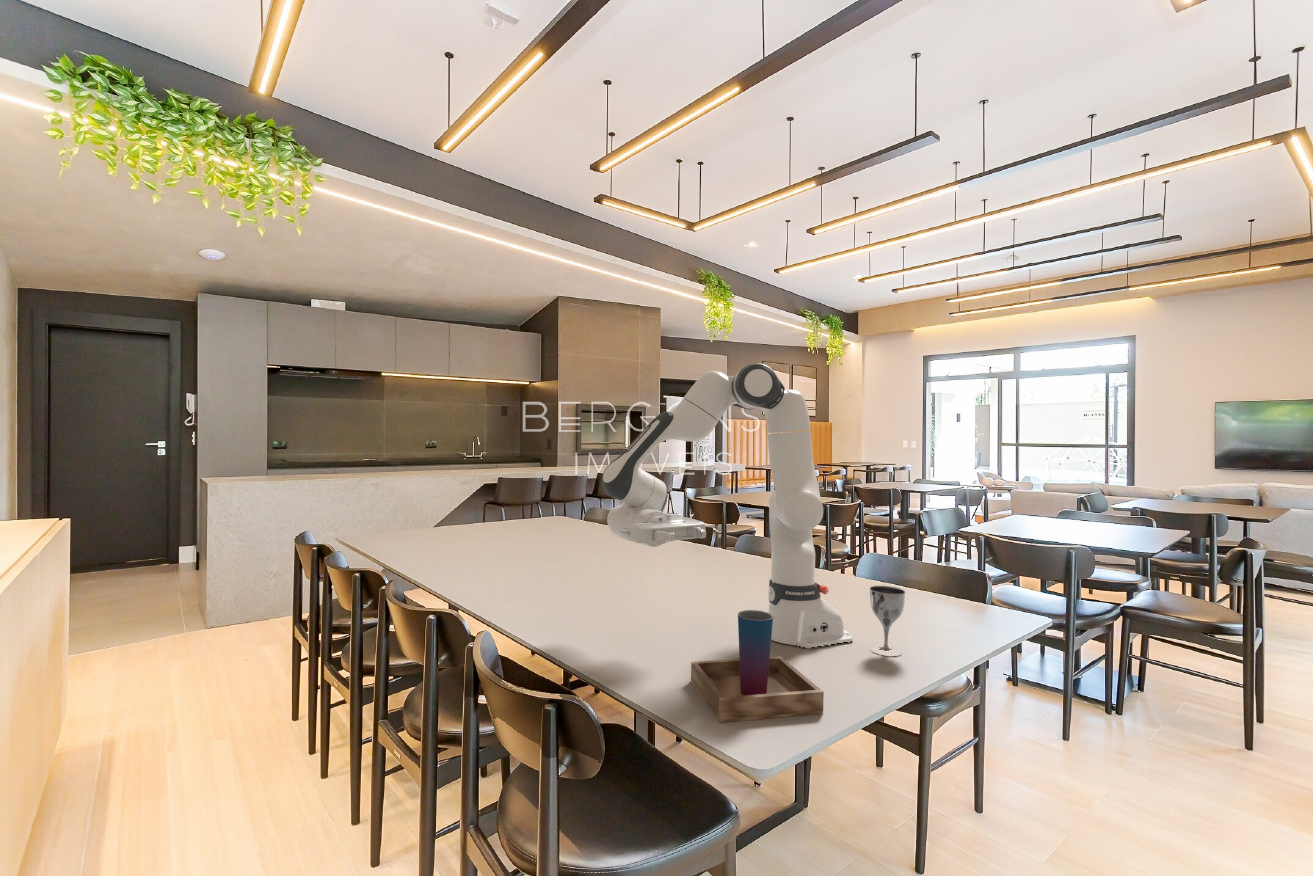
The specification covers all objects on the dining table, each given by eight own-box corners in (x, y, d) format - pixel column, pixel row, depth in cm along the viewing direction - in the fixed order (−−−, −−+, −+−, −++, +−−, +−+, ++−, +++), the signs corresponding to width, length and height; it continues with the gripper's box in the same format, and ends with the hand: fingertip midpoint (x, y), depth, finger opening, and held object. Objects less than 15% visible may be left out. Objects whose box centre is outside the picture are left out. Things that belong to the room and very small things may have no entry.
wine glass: (862, 646, 144) (864, 585, 144) (893, 645, 145) (894, 585, 145) (877, 657, 136) (879, 593, 136) (910, 657, 137) (911, 594, 137)
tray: (780, 675, 124) (780, 656, 124) (823, 713, 107) (823, 691, 107) (690, 681, 120) (691, 661, 120) (720, 722, 102) (720, 700, 102)
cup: (770, 702, 109) (772, 621, 109) (734, 697, 110) (736, 618, 110) (771, 687, 115) (773, 611, 115) (737, 683, 117) (739, 608, 117)
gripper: (617, 517, 137) (652, 525, 126) (683, 513, 149) (720, 519, 138) (616, 544, 137) (651, 554, 126) (682, 537, 149) (720, 546, 138)
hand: (688, 536), depth 132 cm, fingers open, 8 cm apart
